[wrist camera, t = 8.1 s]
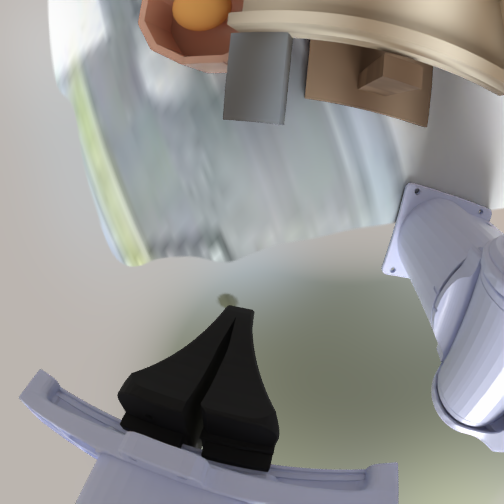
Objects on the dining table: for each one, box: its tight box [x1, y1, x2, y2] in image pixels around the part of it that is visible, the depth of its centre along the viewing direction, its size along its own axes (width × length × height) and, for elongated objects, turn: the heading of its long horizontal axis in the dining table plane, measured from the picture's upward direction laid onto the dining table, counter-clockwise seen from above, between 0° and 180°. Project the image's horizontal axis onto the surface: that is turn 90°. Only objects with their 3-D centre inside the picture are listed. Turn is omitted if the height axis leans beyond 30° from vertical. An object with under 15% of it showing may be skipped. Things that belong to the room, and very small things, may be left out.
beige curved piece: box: [223, 0, 504, 125], centre depth 9 cm, size 16×12×6 cm
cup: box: [138, 0, 244, 73], centre depth 12 cm, size 10×10×4 cm
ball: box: [172, 0, 232, 31], centre depth 12 cm, size 4×4×4 cm
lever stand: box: [305, 39, 433, 127], centre depth 10 cm, size 9×13×8 cm
